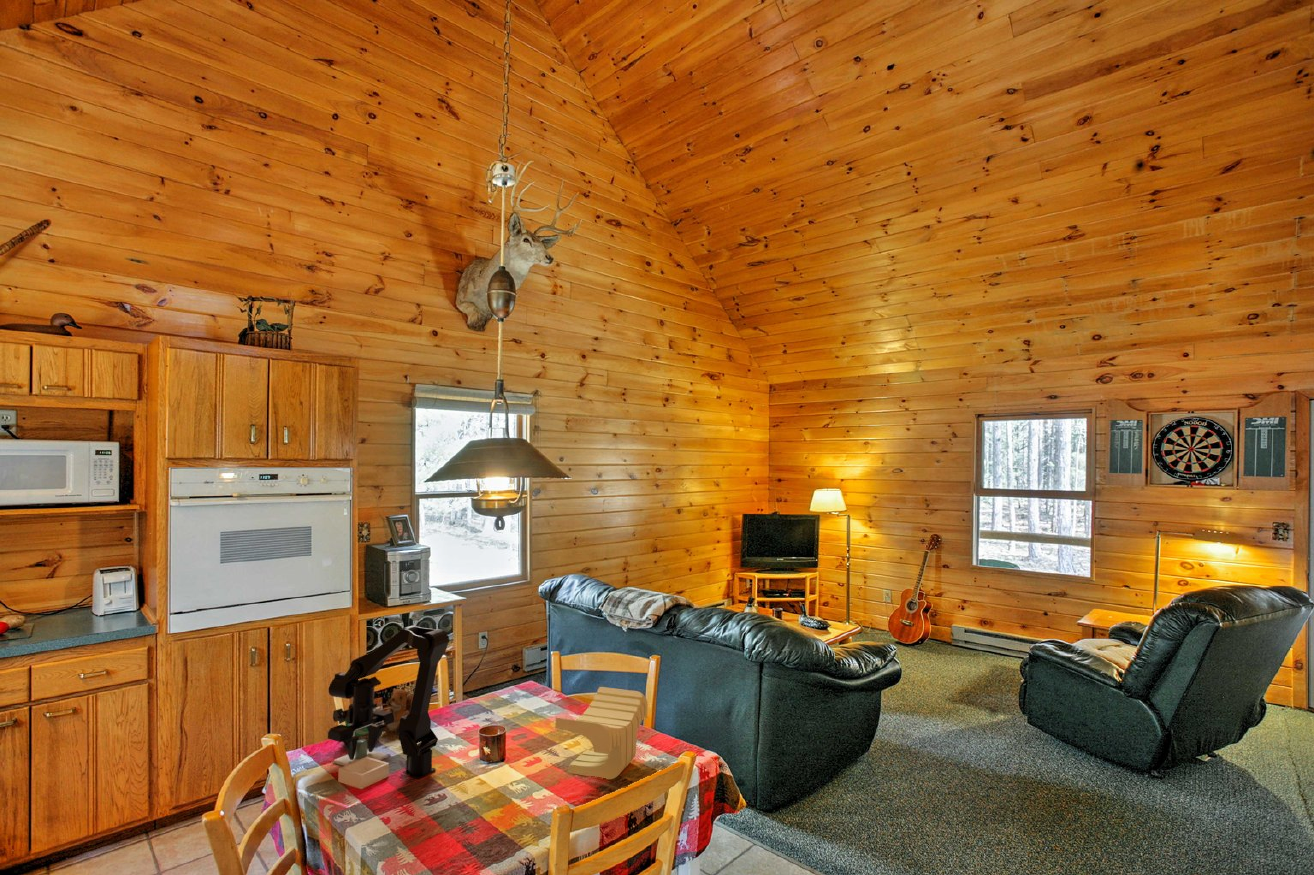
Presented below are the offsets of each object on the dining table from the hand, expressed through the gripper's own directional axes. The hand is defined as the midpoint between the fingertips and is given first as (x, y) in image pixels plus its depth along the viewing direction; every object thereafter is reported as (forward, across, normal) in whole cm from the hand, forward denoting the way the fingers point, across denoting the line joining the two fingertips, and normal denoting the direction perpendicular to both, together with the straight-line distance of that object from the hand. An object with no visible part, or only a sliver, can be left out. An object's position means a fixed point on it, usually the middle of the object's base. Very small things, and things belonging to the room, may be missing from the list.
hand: (361, 755), depth 197 cm
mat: (+2, 0, 0) cm, 2 cm away
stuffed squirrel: (+2, -25, -11) cm, 27 cm away
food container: (+2, -11, -11) cm, 16 cm away
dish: (+2, +8, +11) cm, 14 cm away
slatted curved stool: (+2, -31, +63) cm, 70 cm away
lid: (+1, 0, 0) cm, 1 cm away
